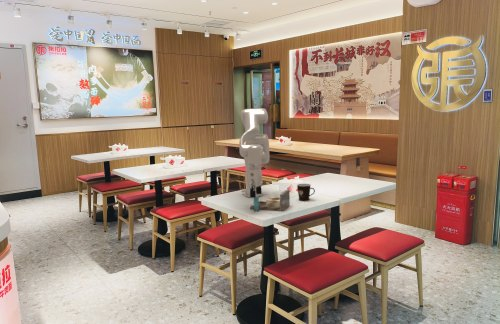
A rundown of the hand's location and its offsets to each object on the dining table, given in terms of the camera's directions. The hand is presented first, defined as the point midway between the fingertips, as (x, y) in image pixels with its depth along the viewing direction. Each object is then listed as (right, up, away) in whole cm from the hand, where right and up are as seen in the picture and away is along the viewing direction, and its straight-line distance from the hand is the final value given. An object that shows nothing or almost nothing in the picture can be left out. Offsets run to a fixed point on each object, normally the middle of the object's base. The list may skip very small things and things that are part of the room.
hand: (256, 195), depth 223 cm
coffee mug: (+32, -5, +22) cm, 39 cm away
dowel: (0, -9, +2) cm, 9 cm away
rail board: (+9, -8, +8) cm, 14 cm away
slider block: (+12, -7, +7) cm, 15 cm away
